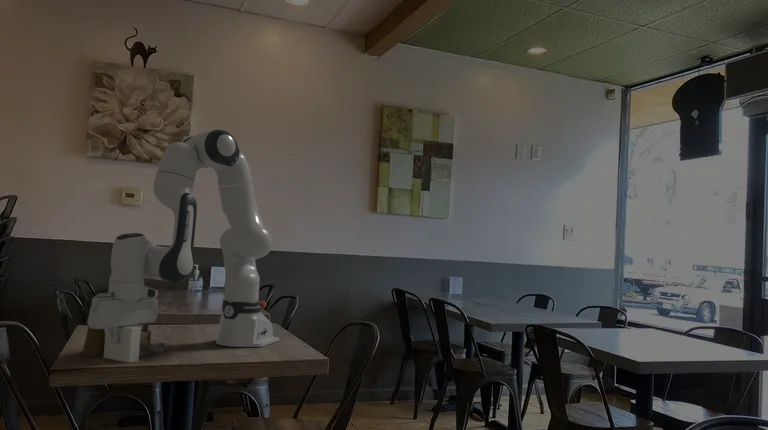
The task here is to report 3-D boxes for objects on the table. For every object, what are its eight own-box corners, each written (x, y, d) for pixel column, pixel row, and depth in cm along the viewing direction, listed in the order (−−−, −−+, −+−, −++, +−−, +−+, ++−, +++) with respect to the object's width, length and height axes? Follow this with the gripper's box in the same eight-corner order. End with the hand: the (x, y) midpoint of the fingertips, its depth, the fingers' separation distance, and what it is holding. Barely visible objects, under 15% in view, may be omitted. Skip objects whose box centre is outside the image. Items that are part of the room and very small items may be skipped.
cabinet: (128, 345, 176) (130, 321, 177) (163, 351, 170) (165, 326, 171) (94, 351, 166) (96, 325, 166) (130, 358, 159) (132, 330, 160)
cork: (96, 357, 158) (99, 317, 158) (76, 355, 159) (80, 315, 159) (110, 353, 163) (113, 315, 164) (92, 351, 165) (95, 313, 165)
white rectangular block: (103, 357, 158) (106, 324, 159) (115, 355, 162) (118, 323, 162) (129, 362, 154) (131, 328, 154) (141, 360, 157) (143, 327, 158)
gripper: (101, 294, 148) (96, 348, 147) (162, 290, 166) (159, 338, 165) (84, 292, 150) (80, 345, 150) (147, 289, 169) (143, 336, 168)
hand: (122, 342), depth 158 cm, fingers closed on white rectangular block, 3 cm apart
